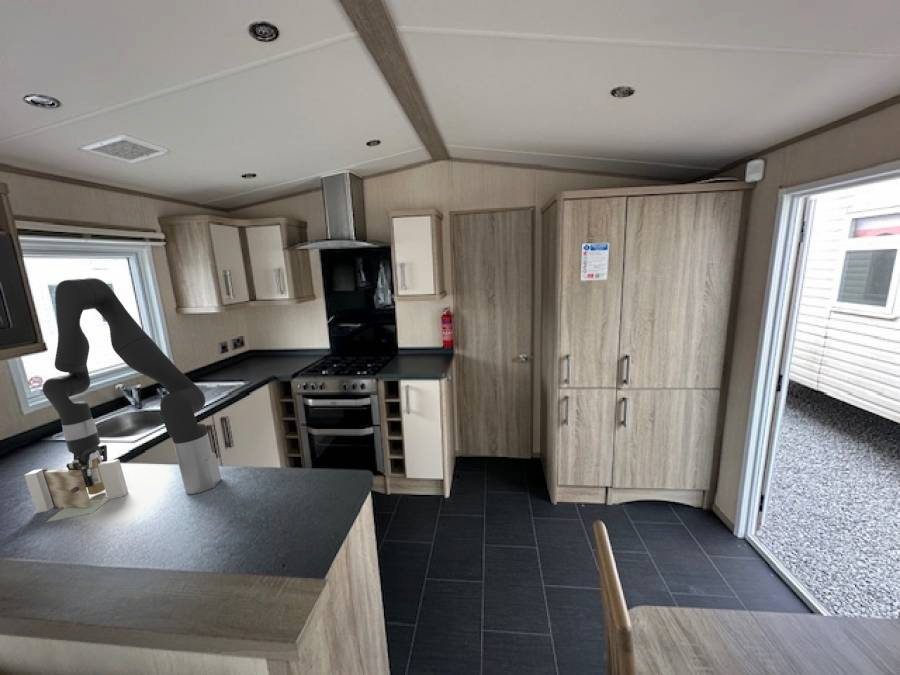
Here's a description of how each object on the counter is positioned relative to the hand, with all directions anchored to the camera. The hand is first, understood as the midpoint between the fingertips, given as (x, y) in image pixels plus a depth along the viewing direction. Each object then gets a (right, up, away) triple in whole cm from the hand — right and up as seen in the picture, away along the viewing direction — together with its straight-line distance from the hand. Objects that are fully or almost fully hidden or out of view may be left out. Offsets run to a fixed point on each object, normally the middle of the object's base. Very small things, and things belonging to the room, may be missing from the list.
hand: (95, 482), depth 123 cm
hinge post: (-11, -7, -5) cm, 14 cm away
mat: (+2, -6, -7) cm, 10 cm away
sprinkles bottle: (0, -3, +1) cm, 4 cm away
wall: (+9, -4, -1) cm, 10 cm away
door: (-2, -6, -6) cm, 9 cm away
